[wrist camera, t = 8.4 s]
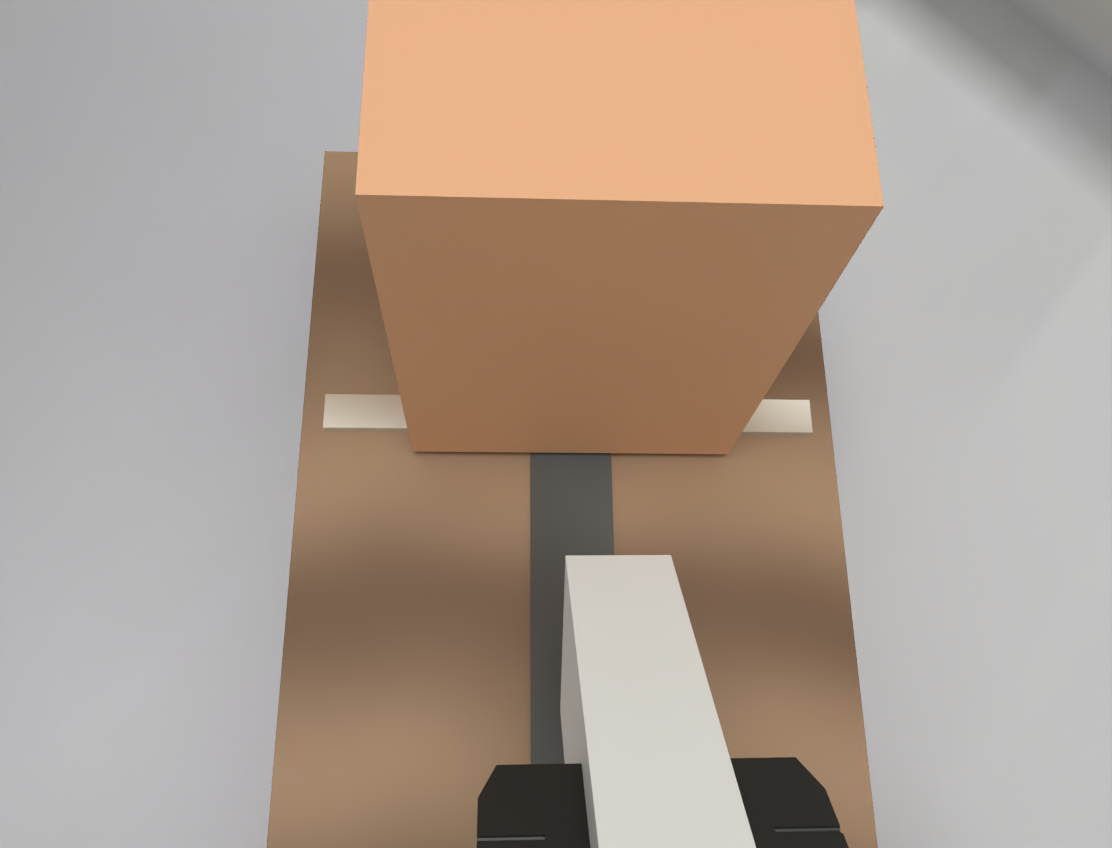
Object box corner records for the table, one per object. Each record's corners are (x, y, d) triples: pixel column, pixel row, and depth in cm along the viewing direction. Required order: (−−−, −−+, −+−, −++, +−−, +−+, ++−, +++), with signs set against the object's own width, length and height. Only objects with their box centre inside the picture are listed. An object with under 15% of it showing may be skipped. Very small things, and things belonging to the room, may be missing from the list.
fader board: (881, 1281, 20) (937, 1346, 18) (255, 1303, 20) (219, 1372, 17) (776, 216, 29) (803, 158, 26) (339, 207, 28) (323, 146, 26)
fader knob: (728, 454, 23) (883, 206, 14) (412, 451, 23) (355, 194, 14) (716, 294, 25) (850, -27, 15) (419, 289, 24) (371, -44, 15)
